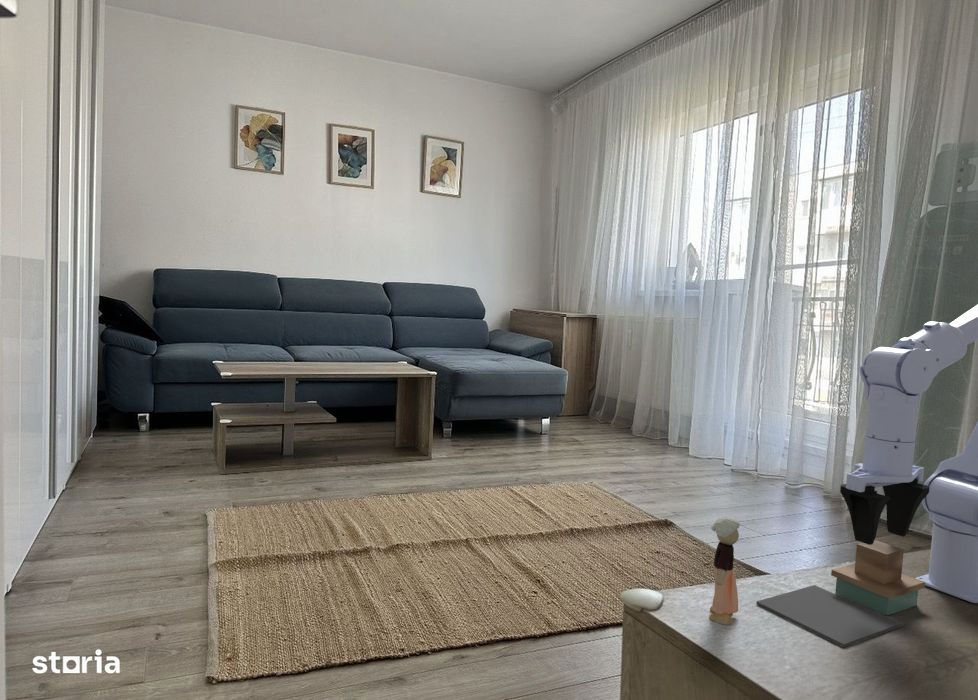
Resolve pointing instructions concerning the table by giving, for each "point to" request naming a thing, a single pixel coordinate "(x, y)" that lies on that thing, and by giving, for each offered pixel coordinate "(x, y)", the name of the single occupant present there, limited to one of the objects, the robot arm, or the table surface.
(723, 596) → the grandmother figurine
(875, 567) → the lid
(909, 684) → the table surface
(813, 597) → the mat
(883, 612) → the green storage tray
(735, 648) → the table surface
